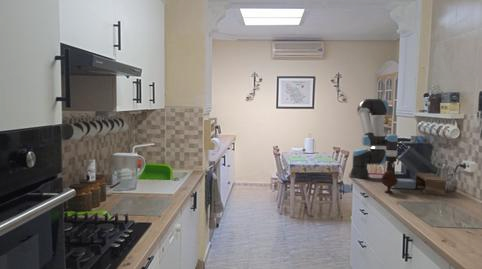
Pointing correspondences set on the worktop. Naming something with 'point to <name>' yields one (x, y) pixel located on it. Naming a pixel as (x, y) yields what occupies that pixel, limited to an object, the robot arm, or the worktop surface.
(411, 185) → the grey slate tile
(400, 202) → the worktop surface
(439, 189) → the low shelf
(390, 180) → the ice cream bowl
